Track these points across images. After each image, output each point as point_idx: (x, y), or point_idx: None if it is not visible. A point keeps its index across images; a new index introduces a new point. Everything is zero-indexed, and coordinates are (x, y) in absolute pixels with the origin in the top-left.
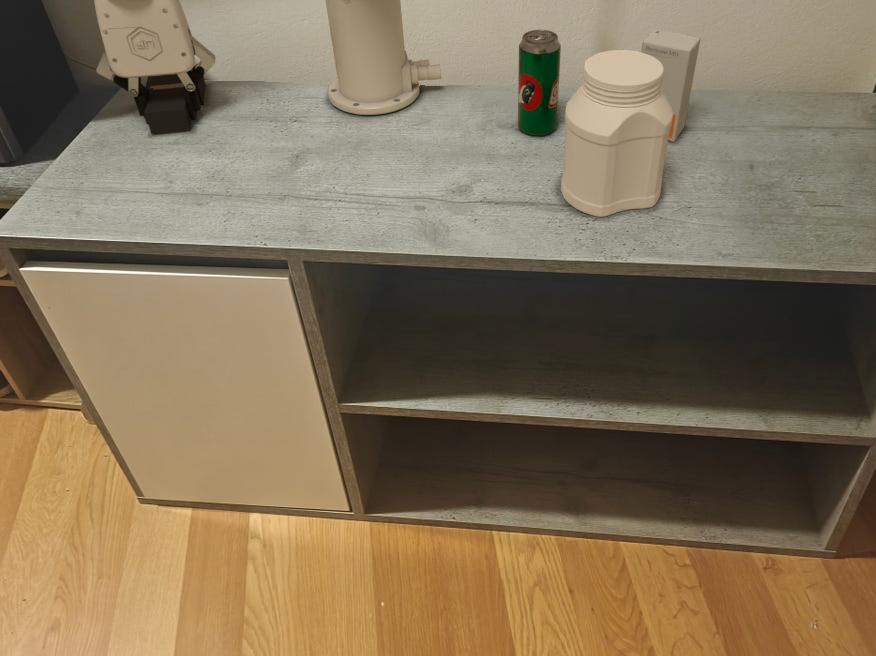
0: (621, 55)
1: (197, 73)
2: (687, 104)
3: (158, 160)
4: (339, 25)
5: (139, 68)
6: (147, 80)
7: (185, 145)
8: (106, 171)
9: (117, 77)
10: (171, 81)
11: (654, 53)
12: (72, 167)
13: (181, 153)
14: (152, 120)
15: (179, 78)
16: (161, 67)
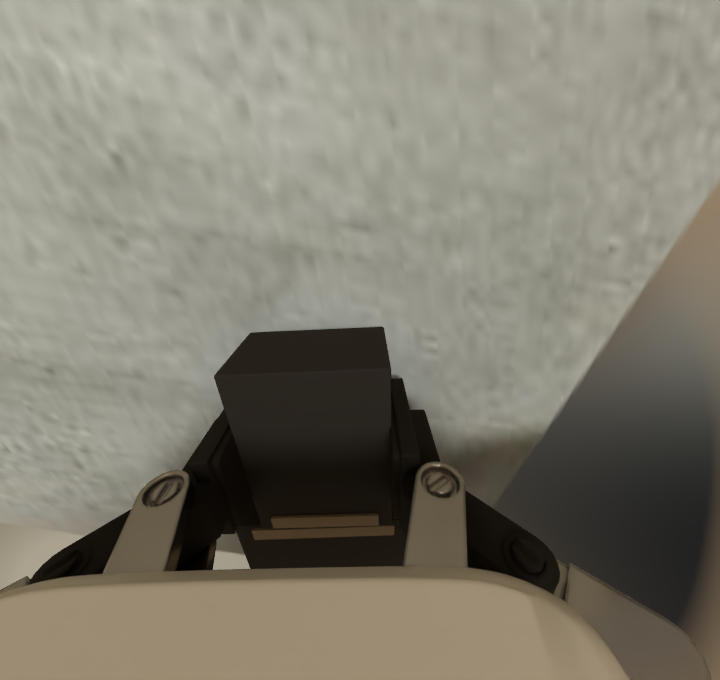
0: None
1: (68, 566)
2: None
3: (327, 112)
4: None
5: (354, 670)
6: None
7: (243, 233)
8: (558, 36)
9: (534, 579)
10: (330, 550)
11: None
12: (697, 116)
13: (240, 164)
14: (365, 349)
15: (308, 560)
16: (145, 659)
